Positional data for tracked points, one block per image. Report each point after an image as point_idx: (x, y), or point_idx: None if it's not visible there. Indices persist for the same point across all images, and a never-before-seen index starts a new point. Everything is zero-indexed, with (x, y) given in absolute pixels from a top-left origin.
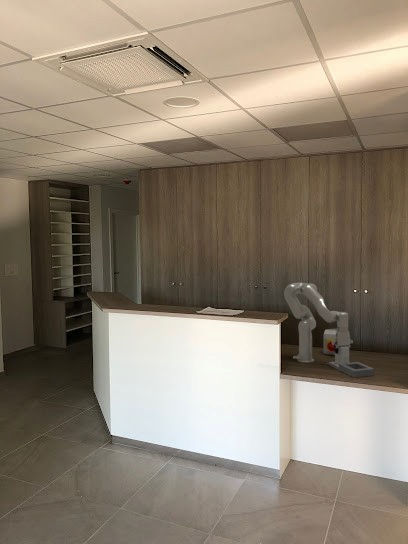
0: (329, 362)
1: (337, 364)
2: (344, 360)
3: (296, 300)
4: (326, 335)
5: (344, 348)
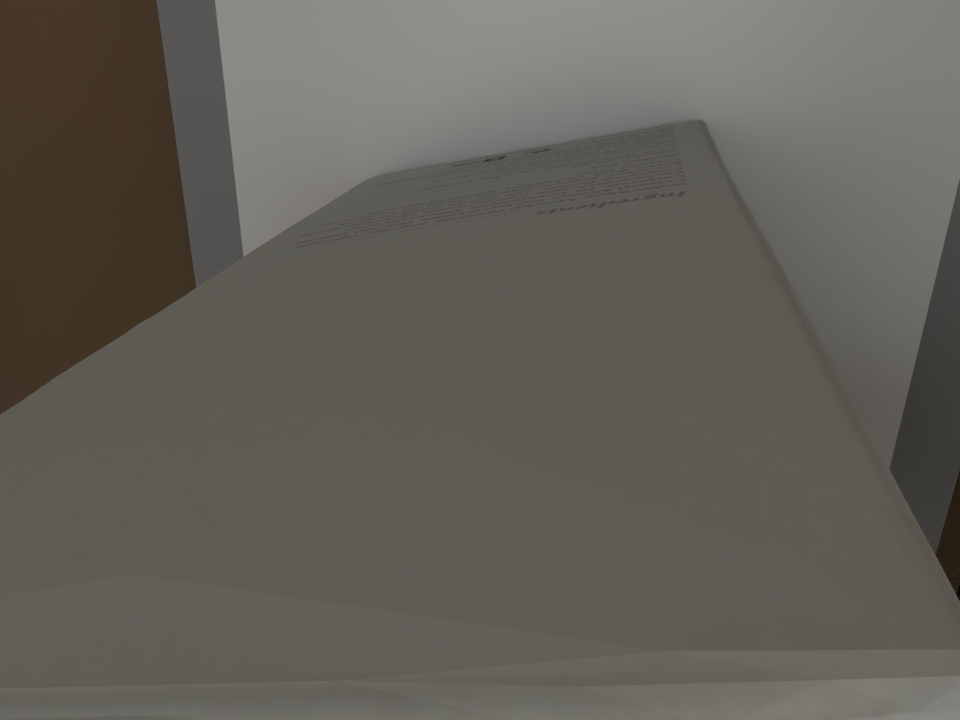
0: None
1: None
2: (609, 161)
3: None
4: None
5: (546, 557)
